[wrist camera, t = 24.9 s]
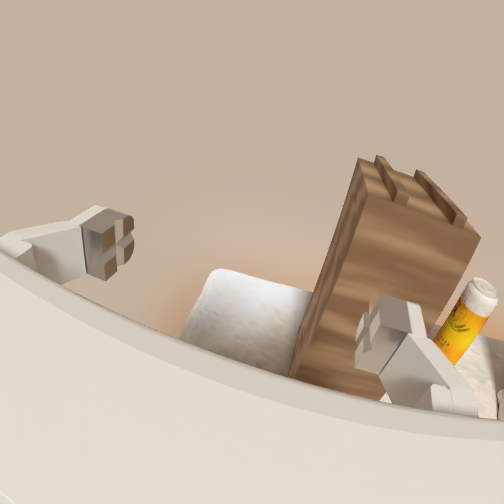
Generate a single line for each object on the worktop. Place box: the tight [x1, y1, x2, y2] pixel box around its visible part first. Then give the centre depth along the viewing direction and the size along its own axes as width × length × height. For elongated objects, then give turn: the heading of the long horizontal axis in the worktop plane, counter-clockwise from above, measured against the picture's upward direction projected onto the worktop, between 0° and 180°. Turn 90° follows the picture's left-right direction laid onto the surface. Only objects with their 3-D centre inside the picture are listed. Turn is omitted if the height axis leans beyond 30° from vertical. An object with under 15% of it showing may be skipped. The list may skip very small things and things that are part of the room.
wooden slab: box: [288, 155, 481, 401], centre depth 33 cm, size 15×10×27 cm, turn 164°
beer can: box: [433, 277, 499, 366], centre depth 41 cm, size 6×6×15 cm
